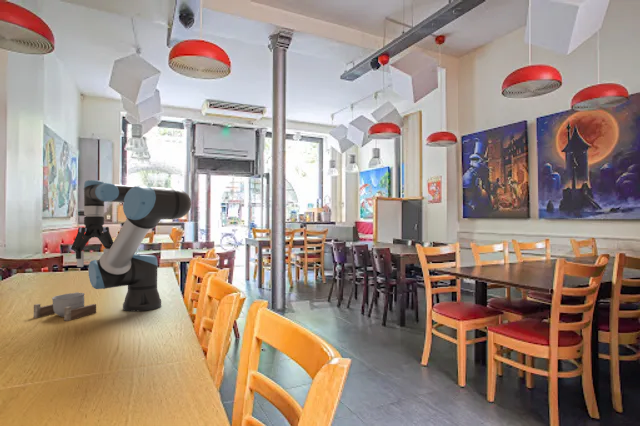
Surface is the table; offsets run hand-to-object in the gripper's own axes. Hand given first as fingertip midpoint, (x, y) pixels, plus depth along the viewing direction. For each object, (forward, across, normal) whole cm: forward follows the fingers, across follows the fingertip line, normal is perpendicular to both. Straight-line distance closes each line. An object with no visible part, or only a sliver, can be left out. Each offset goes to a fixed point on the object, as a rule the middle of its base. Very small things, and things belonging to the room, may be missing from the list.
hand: (93, 265), depth 162 cm
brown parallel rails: (+19, +13, 0) cm, 22 cm away
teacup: (+19, +11, 0) cm, 22 cm away
